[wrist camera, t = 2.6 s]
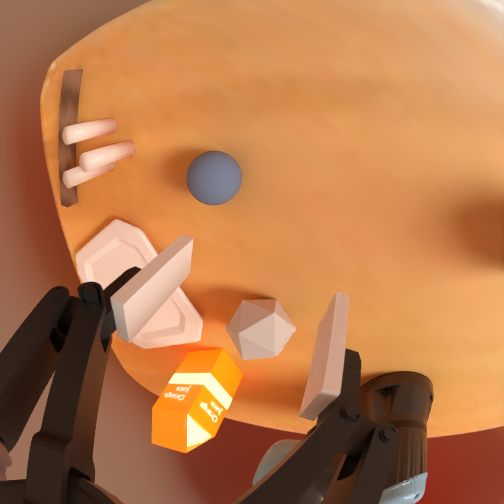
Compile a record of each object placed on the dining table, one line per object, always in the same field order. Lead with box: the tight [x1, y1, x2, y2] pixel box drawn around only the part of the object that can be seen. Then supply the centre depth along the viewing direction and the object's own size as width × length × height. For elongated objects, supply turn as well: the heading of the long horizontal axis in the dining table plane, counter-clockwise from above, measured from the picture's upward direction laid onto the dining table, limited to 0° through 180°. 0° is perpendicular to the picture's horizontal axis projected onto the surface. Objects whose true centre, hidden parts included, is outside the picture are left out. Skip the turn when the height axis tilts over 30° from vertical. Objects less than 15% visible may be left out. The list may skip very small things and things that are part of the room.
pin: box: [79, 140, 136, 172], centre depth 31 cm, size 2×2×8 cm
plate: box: [76, 219, 203, 349], centre depth 47 cm, size 25×25×2 cm
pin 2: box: [63, 162, 115, 188], centre depth 33 cm, size 2×2×8 cm
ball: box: [187, 151, 242, 205], centre depth 30 cm, size 6×6×6 cm
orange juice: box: [152, 349, 243, 453], centre depth 42 cm, size 8×9×20 cm
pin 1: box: [62, 118, 117, 145], centre depth 30 cm, size 2×2×8 cm
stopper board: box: [59, 70, 82, 207], centre depth 35 cm, size 24×2×2 cm, turn 167°
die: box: [226, 299, 296, 360], centre depth 37 cm, size 8×9×10 cm
